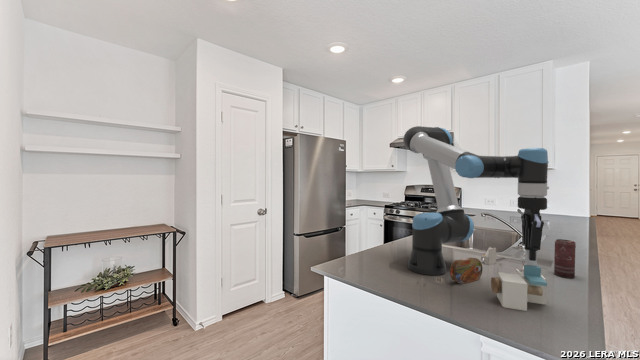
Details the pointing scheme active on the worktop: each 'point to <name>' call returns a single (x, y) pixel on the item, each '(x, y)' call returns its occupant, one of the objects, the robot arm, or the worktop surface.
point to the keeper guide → (534, 297)
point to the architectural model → (490, 256)
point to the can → (564, 258)
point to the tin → (466, 270)
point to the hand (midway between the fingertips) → (530, 269)
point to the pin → (532, 290)
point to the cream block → (512, 291)
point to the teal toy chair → (534, 275)
